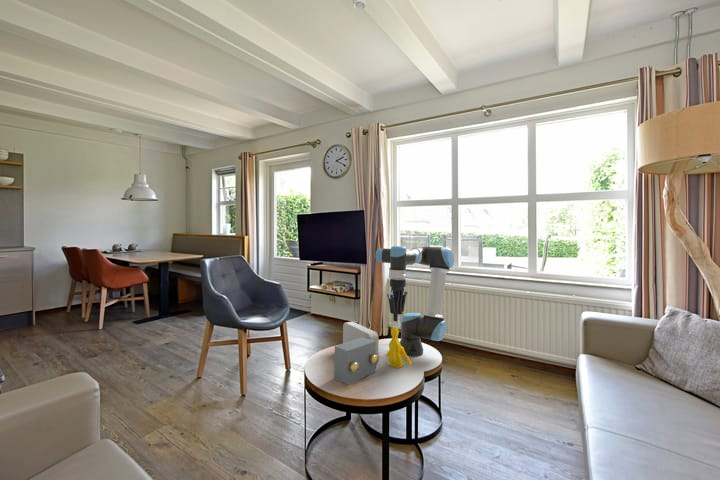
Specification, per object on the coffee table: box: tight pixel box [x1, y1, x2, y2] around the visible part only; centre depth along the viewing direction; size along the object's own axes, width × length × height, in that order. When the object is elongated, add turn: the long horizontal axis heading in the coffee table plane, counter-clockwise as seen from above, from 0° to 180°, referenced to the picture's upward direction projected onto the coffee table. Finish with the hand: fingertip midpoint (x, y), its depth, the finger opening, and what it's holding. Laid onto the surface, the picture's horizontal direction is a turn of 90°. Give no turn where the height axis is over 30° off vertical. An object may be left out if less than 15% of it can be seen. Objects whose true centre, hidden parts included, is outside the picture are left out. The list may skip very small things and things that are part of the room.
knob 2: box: [369, 354, 380, 366], centre depth 165 cm, size 4×9×4 cm, turn 46°
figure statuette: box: [385, 325, 413, 369], centre depth 174 cm, size 18×8×22 cm, turn 46°
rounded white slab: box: [342, 321, 380, 366], centre depth 184 cm, size 29×8×18 cm, turn 33°
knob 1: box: [349, 362, 360, 373], centre depth 155 cm, size 4×9×4 cm, turn 46°
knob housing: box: [333, 337, 376, 386], centre depth 162 cm, size 20×9×16 cm, turn 136°
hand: (396, 327), depth 155 cm, fingers closed
